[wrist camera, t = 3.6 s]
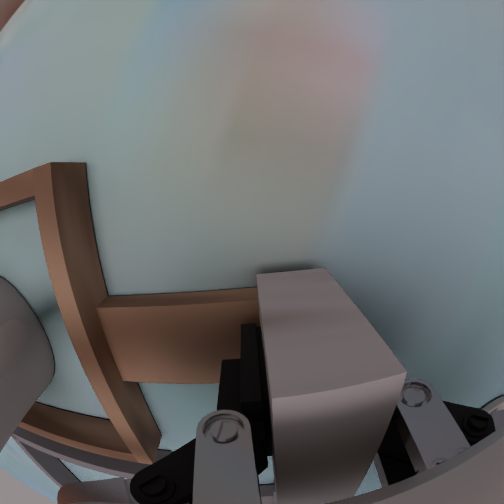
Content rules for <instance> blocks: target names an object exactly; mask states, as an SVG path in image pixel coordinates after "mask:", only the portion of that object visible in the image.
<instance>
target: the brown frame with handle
mask: <svg viewBox="0 0 504 504" xmlns="http://www.w3.org/2000/svg"><path fill="white" fill-rule="evenodd" d="M31 200H35V202H36V210H37V217H38V223H39V229H40V235H41V240H42V245H43V250H44V254H45V259H46V263H47V267H48V271H49V275H50V279H51V282H52V286H53V289H54V293H55V296H56V299H57V302H58V306H59V309H60V312H61V315H62V317H63V320H64V323H65V326H66V329H67V331H68V334H69V336H70V339H71V342H72V344H73V346H74V349H75V351H76V354H77V356H78V358H79V360H80V363H81V365H82V367H83V369H84V371H85V374H86V376H87V378H88V380H89V382H90V384H91V386H92V388H93V390H94V392H95V394H96V395H97V397H98V399H99V401H100V403H101V405H102V406H103V408H104V410H105V412H106V413H107V415H108V417H109V419H110V420H105V419H100V418H94V417H90V416H85V415H80V414H76V413H72V412H68V411H64V410H60V409H57V408H53V407H50V406H46V405H43V404H40V403H37V402H35V403H34V404H33V405H32V407H31V408H30V409H29V411H28V412H27V413H26V415H25V416H24V417H23V419H22V420H21V422H20V423H19V425H18V426H19V427H21V428H24V429H26V430H28V431H30V432H33V433H35V434H38V435H40V436H43V437H45V438H48V439H51V440H53V441H56V442H59V443H62V444H65V445H68V446H71V447H74V448H77V449H81V450H84V451H88V452H91V453H95V454H99V455H103V456H108V457H112V458H117V459H121V460H127V461H132V462H138V463H144V464H153V463H155V459H156V455H157V451H158V447H159V443H160V440H161V436H162V435H161V433H160V431H159V429H158V427H157V425H156V423H155V421H154V419H153V417H152V415H151V413H150V411H149V409H148V407H147V404H146V402H145V400H144V398H143V395H142V393H141V391H140V389H139V386H138V384H137V382H147V383H175V384H205V383H220V373H221V363H222V360H223V359H240V351H241V324H250V323H256V327H260V326H261V332H262V341H263V349H264V358H265V367H266V376H267V385H268V393H269V404H270V419H271V434H272V449H273V456H272V460H273V470H274V480H275V490H276V499H277V504H322V503H327V502H332V501H336V500H341V499H345V498H349V497H353V496H354V495H355V493H356V491H357V490H358V488H359V486H360V484H361V482H362V481H363V479H364V477H365V475H366V473H367V471H368V469H369V467H370V465H371V463H372V461H373V459H374V457H375V455H376V453H377V451H378V449H379V447H380V444H381V442H382V440H383V437H384V435H385V433H386V430H387V428H388V426H389V423H390V421H391V418H392V415H393V413H394V410H395V407H396V405H397V402H398V399H399V396H400V393H401V390H402V387H403V384H404V381H405V378H406V374H407V371H406V369H405V368H404V367H403V365H402V364H401V363H400V361H399V360H398V359H397V357H396V356H395V355H394V353H393V352H392V351H391V349H390V348H389V347H388V345H387V344H386V343H385V342H384V340H383V339H382V338H381V336H380V335H379V334H378V333H377V331H376V330H375V329H374V327H373V326H372V325H371V324H370V322H369V321H368V320H367V319H366V317H365V316H364V315H363V314H362V312H361V311H360V310H359V309H358V307H357V306H356V305H355V304H354V302H353V301H352V300H351V299H350V298H349V296H348V295H347V294H346V293H345V291H344V290H343V289H342V288H341V287H340V285H339V284H338V283H337V282H336V281H335V279H334V278H333V277H332V276H331V275H330V273H329V272H328V271H327V270H326V269H325V268H318V269H308V270H298V271H287V272H276V273H265V274H256V278H257V287H253V288H241V289H229V290H216V291H202V292H186V293H170V294H151V295H129V296H108V295H107V291H106V288H105V284H104V280H103V275H102V271H101V267H100V262H99V258H98V253H97V248H96V243H95V237H94V232H93V226H92V219H91V213H90V206H89V198H88V189H87V179H86V168H85V163H76V162H50V163H47V164H44V165H42V166H39V167H36V168H34V169H31V170H28V171H26V172H23V173H21V174H19V175H16V176H14V177H11V178H9V179H7V180H5V181H2V182H0V211H1V210H3V209H6V208H9V207H12V206H15V205H18V204H22V203H25V202H28V201H31Z"/></svg>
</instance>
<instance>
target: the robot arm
mask: <svg viewBox="0 0 504 504" xmlns="http://www.w3.org/2000/svg"><path fill="white" fill-rule="evenodd" d="M267 456H273V449H272V434H271V419H270V404H269V393H268V385H267V376H266V367H265V358H264V349H263V341H262V332H261V326H260V327H256V323H250V324H241V351H240V359H223V360H222V363H221V373H220V383H219V393H218V404H217V411H214V412H212V413H209V414H207V415H206V416H205V417H203V418H202V419H201V421H200V422H199V423H198V426H197V432H196V438H195V439H193V440H192V441H190V442H189V443H187V444H185V445H184V446H182V447H180V448H179V449H177V450H176V451H174V452H172V453H170V454H169V455H167V456H165V457H164V458H162V459H160V460H158V461H157V462H155V463H153V464H151V465H149V466H147V467H146V468H144V469H142V470H140V471H139V472H137V473H136V474H135V475H134V476H133V478H131V479H124V478H123V477H119V478H112V479H105V480H96V481H86V482H72V483H68V484H65V485H64V486H62V487H61V488H60V490H59V491H58V496H57V501H58V504H262V498H261V491H260V484H259V477H258V475H259V474H260V473H261V472H263V471H264V470H265V469H266V468H267V467H268V459H267ZM374 463H375V466H376V469H377V472H378V475H379V479H380V482H381V485H382V488H381V489H378V490H375V491H371V492H368V493H365V494H361V495H358V496H354V497H351V498H347V499H343V500H338V501H334V502H330V503H325V504H504V396H502V397H500V398H497V399H495V400H494V401H492V402H491V403H489V404H488V405H486V406H485V407H484V408H482V409H478V408H473V407H468V406H463V405H459V404H454V403H450V402H446V401H442V400H441V398H440V397H439V395H438V394H437V392H436V391H435V389H434V388H433V387H432V386H431V385H430V384H429V383H427V382H426V381H423V380H420V379H407V380H405V381H404V384H403V387H402V390H401V393H400V396H399V399H398V402H397V405H396V407H395V410H394V413H393V415H392V418H391V421H390V423H389V426H388V428H387V430H386V433H385V435H384V437H383V440H382V442H381V444H380V447H379V449H378V451H377V453H376V455H375V457H374Z"/></svg>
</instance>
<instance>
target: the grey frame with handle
mask: <svg viewBox="0 0 504 504" xmlns="http://www.w3.org/2000/svg"><path fill="white" fill-rule="evenodd" d="M11 436H12V438H13V439H14V440H15V441H16V442H17V444H18V445H19V446H20V447H21V448H22V449H23V450H24V452H25V453H26V454H27V455H28V456H29V457H30V458H31V459H32V460H33V461H34V462H35V464H36V465H37V466H38V467H39V468H40V469H41V470H42V471H43V472H44V473H45V474H46V475H47V476H49V477H50V478H51V479H52V480H53V481H54V482H55V483H56V484H57V485H58V486H59V487H60V488H61V487H62V486H64V485H65V484H68V483H72V482H80V481H79V480H78V479H77V478H76V477H75V476H74V475H73V474H72V473H71V472H70V471H69V470H68V469H67V468H66V467H65V466H64V465H63V464H62V463H61V462H60V461H59V460H58V458H59V459H62V460H65V461H67V462H70V463H73V464H76V465H79V466H82V467H85V468H89V469H92V470H96V471H99V472H103V473H107V474H111V475H115V476H119V477H123V478H128V479H131V478H133V476H134V475H135V474H136V473H137V472H139V471H140V470H142V469H144V468H146V467H147V466H149V465H151V464H144V463H138V462H132V461H127V460H121V459H117V458H112V457H108V456H103V455H99V454H95V453H91V452H88V451H84V450H81V449H77V448H74V447H71V446H68V445H65V444H62V443H59V442H56V441H53V440H51V439H48V438H45V437H43V436H40V435H38V434H35V433H33V432H30V431H28V430H26V429H24V428H21V427H19V426H17V428H16V429H15V430H14V432H13V433H12V435H11ZM170 453H171V452H170V451H162V450H158V451H157V455H156V459H155V462H157V461H158V460H160V459H162V458H164V457H165V456H167V455H169V454H170ZM260 491H261V498H262V504H277V499H276V490H275V484H274V485H262V486H260Z"/></svg>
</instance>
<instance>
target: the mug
mask: <svg viewBox="0 0 504 504" xmlns="http://www.w3.org/2000/svg"><path fill="white" fill-rule="evenodd" d="M53 374H54V360H53V354H52V351H51V347H50V344H49V341H48V339H47V337H46V334H45V332H44V330H43V328H42V326H41V324H40V322H39V320H38V319H37V317H36V315H35V314H34V312H33V311H32V309H31V307H30V306H29V305H28V303H27V302H26V300H25V299H24V298H23V297H22V296H21V294H20V293H19V292H18V291H17V290H16V289H15V288H14V287H13V286H12V285H11V284H10V283H9V282H7V281H6V280H5V279H3V278H1V277H0V452H1V450H2V449H3V447H4V446H5V444H6V443H7V441H8V440H9V438H10V436H11V435H12V433H13V432H14V430H15V429H16V428H17V426H18V425H19V423H20V422H21V420H22V419H23V417H24V416H25V415H26V413H27V412H28V411H29V409H30V408H31V407H32V405H33V404H34V403H35V401H36V400H37V399H38V398H39V396H40V395H41V394H42V393H43V391H44V390H45V389H46V388H47V386H48V385H49V383H50V381H51V380H52V377H53Z"/></svg>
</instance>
